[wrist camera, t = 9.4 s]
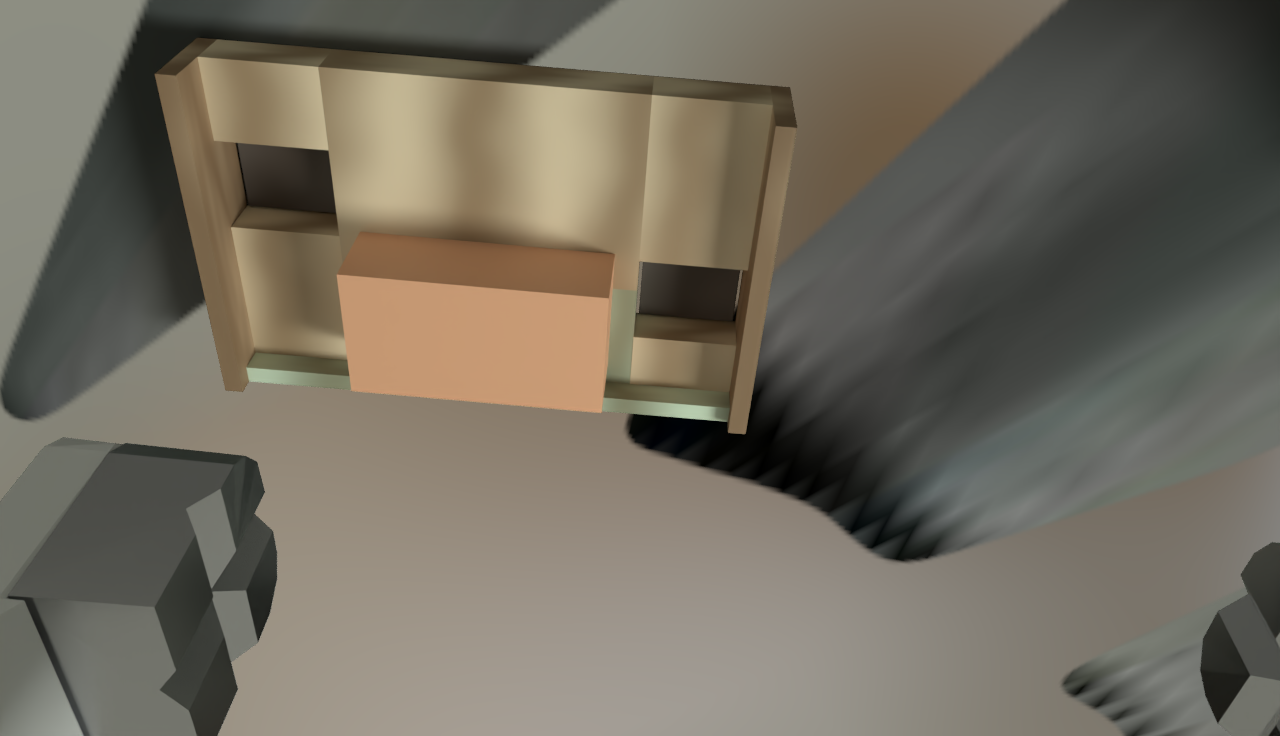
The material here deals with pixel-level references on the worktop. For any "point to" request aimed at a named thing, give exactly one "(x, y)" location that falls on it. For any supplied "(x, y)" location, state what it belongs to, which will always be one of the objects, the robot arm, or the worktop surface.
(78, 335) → the worktop surface
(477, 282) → the block
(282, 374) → the trap board
